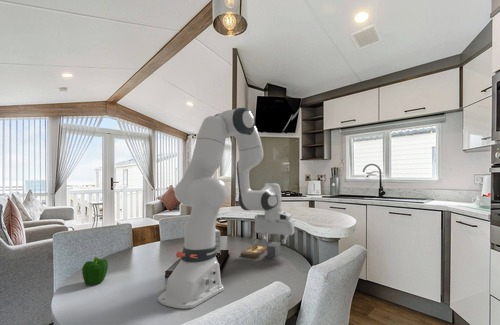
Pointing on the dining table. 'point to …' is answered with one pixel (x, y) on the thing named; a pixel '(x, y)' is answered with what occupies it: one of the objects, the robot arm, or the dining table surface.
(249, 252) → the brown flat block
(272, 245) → the block
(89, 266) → the bell pepper
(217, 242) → the supplement box
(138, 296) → the dining table surface
